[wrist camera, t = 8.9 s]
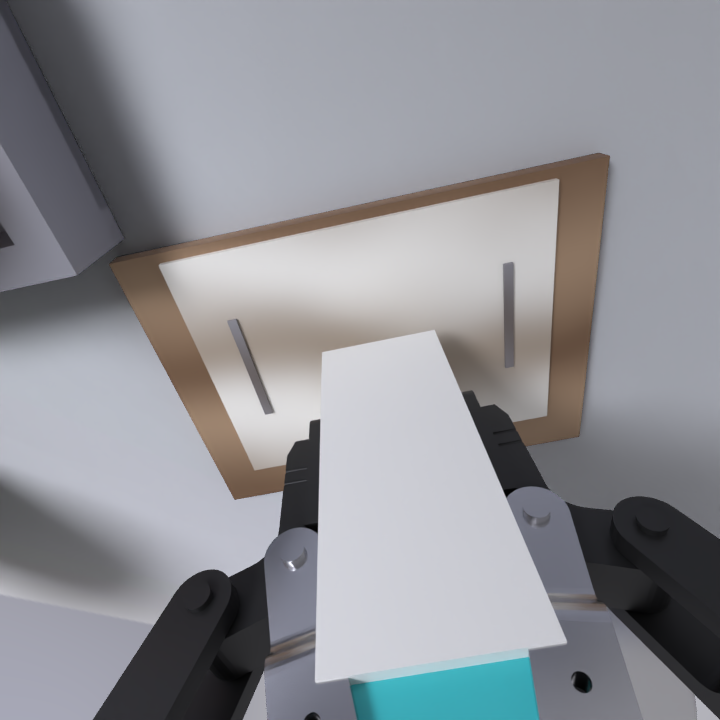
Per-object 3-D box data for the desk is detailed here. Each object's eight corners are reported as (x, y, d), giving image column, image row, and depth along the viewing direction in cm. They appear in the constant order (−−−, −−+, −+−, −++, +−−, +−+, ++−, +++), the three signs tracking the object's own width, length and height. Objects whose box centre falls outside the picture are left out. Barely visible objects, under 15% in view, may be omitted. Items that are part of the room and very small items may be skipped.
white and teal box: (322, 352, 14) (310, 902, 5) (434, 329, 14) (658, 856, 4) (345, 434, 16) (370, 938, 7) (444, 416, 16) (614, 907, 6)
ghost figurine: (439, 605, 26) (491, 853, 18) (574, 524, 23) (718, 786, 14) (527, 647, 30) (606, 870, 21) (655, 583, 26) (809, 820, 18)
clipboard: (117, 257, 14) (97, 273, 13) (598, 152, 13) (625, 160, 12) (237, 488, 20) (231, 514, 18) (572, 426, 19) (588, 450, 18)
